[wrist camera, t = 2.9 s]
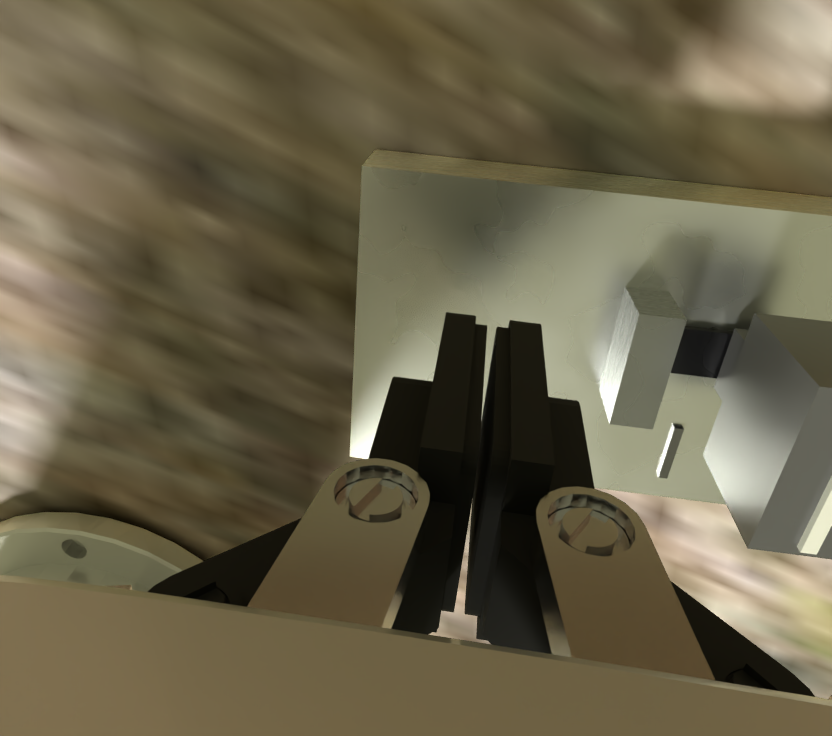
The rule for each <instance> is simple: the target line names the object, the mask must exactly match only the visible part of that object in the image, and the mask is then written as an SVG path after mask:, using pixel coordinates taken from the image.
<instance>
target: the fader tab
mask: <svg viewBox="0 0 832 736" xmlns="http://www.w3.org/2000/svg"><path fill="white" fill-rule="evenodd" d="M714 389H715V390H716V392H717V394H718V395H719V397H720V399H721V400H722V404H721V406H720V409H719V412H718V414H717V417H716V420H715V423H714V425H713V428H712V431H711V434H710V436H709V439H708V442H707V445H706V447H705V450H704V453H703V457H704V459H705V461H706V463H707V465H708V467H709V469H710V471H711V473H712V476H713V478H714V480H715V482H716V484H717V486H718V488H719V490H720V492H721V494H722V496H723V498H724V500H725V503H726V505H727V507H728V509H729V511H730V513H731V515H732V517H733V519H734V521H735V523H736V525H737V527H738V530H739V532H740V534H741V536H742V538H743V540H744V542H745V544H746V546H747V548H749V549H757V550H764V551H772V552H780V553H787V554H795V555H803V556H810V557H818V558H826V559H832V322H830V321H822V320H813V319H804V318H795V317H786V316H778V315H769V314H760V313H754V316H753V319H752V321H751V324H750V327H749V330H746V329H738V328H735V329H734V332H733V335H732V337H731V340H730V343H729V346H728V349H727V352H726V354H725V357H724V360H723V363H722V366H721V368H720V371H719V374H718V377H717V380H716V383H715V385H714Z"/></svg>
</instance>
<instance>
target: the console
mask: <svg viewBox="0 0 832 736" xmlns="http://www.w3.org/2000/svg"><path fill="white" fill-rule="evenodd" d="M446 312H450V313H458V314H466V315H474V316H476V324H481V325H487V339H486V355H485V371H484V387H483V403H482V414H483V408H484V402H485V395H486V389H487V383H488V377H489V370H490V364H491V358H492V352H493V345H494V339H495V333H496V328H497V327H504V328H508V325H509V321H510V320H514V321H521V322H529V323H537V324H541V327H542V337H543V347H544V357H545V368H546V378H547V388H548V397H554V398H561V399H569V400H577V401H578V402H579V403H580V407H581V413H582V418H583V424H584V430H585V436H586V442H587V448H588V453H589V459H590V465H591V471H592V477H593V483H594V488H600V489H608V490H616V491H624V492H631V493H639V494H647V495H655V496H663V497H671V498H679V499H686V500H694V501H702V502H710V503H718V504H726V503H725V500H724V498H723V496H722V494H721V492H720V490H719V488H718V486H717V484H716V482H715V480H714V478H713V476H712V473H711V471H710V469H709V467H708V465H707V463H706V461H705V459H704V457H703V453H704V450H705V447H706V445H707V442H708V439H709V436H710V434H711V431H712V428H713V425H714V423H715V420H716V417H717V414H718V412H719V409H720V406H721V404H722V400H721V399H720V397H719V395H718V394H717V392H716V390H715V389H714V385H715V383H716V380H717V377H718V374H719V371H720V368H721V366H722V363H723V360H724V357H725V354H726V352H727V349H728V346H729V343H730V340H731V337H732V335H733V332H734V329H735V328H738V329H746V330H749V327H750V324H751V321H752V319H753V316H754V313H760V314H769V315H778V316H786V317H795V318H804V319H813V320H822V321H830V322H832V197H824V196H815V195H805V194H796V193H786V192H777V191H767V190H758V189H748V188H739V187H729V186H720V185H710V184H701V183H691V182H682V181H672V180H663V179H653V178H644V177H634V176H625V175H616V174H606V173H597V172H587V171H578V170H568V169H559V168H549V167H540V166H530V165H521V164H511V163H502V162H492V161H483V160H473V159H464V158H454V157H445V156H435V155H426V154H416V153H407V152H397V151H388V150H378V149H375V150H374V152H373V153H372V154H371V155H370V156H369V158H368V159H367V160H366V161H365V163H364V164H363V165H362V173H361V197H360V221H359V245H358V269H357V293H356V317H355V341H354V365H353V389H352V413H351V437H350V457H356V458H364V459H368V457H369V454H370V451H371V447H372V444H373V441H374V437H375V434H376V431H377V427H378V424H379V420H380V417H381V414H382V410H383V407H384V404H385V400H386V397H387V394H388V390H389V387H390V384H391V380H392V378H393V377H394V376H395V377H403V378H411V379H418V380H426V381H433V378H434V372H435V367H436V362H437V357H438V352H439V346H440V341H441V336H442V331H443V326H444V320H445V315H446ZM481 421H482V419H481Z"/></svg>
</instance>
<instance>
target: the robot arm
mask: <svg viewBox="0 0 832 736" xmlns="http://www.w3.org/2000/svg"><path fill="white" fill-rule="evenodd" d="M486 339H487V325H481V324H476V316H474V315H466V314H458V313H450V312H446V315H445V320H444V326H443V331H442V336H441V341H440V346H439V352H438V357H437V362H436V367H435V372H434V378H433V381H426V380H418V379H411V378H403V377H395V376H394V377H393V378H392V380H391V384H390V387H389V390H388V394H387V397H386V400H385V404H384V407H383V410H382V414H381V417H380V420H379V424H378V427H377V431H376V434H375V437H374V441H373V444H372V447H371V451H370V454H369V457H368V459H360V460H356V461H353V462H349V463H346V464H344V465H343V466H341V467H339V468H337V469H336V470H334V471H333V472H332V473H331V474H330V475H329V477H328V478H327V479H326V480H325V482H324V483H323V485H322V486H321V488H320V490H319V491H318V493H317V495H316V496H315V498H314V499H313V501H312V503H311V504H310V506H309V507H308V509H307V511H306V512H305V514H304V515H303V517H302V518H301V519H298V520H296V521H294V522H292V523H289V524H287V525H285V526H283V527H280V528H278V529H276V530H274V531H271V532H269V533H267V534H264V535H262V536H260V537H258V538H255V539H253V540H251V541H249V542H246V543H244V544H242V545H240V546H237V547H235V548H233V549H230V550H228V551H226V552H224V553H221V554H219V555H217V556H215V557H212V558H210V559H208V560H206V561H203V560H201V559H200V558H198V557H196V556H195V555H193V554H192V553H190V552H188V551H187V550H185V549H184V548H182V547H181V546H179V545H177V544H176V543H174V542H172V541H170V540H167V539H165V538H163V537H161V536H159V535H157V534H154V533H152V532H150V531H148V530H146V529H143V528H140V527H137V526H134V525H130V524H127V523H124V522H121V521H118V520H114V519H111V518H105V517H99V516H93V515H88V514H82V513H68V512H41V513H35V514H28V515H21V516H15V517H13V518H10V519H7V520H4V521H2V522H0V736H832V695H831V696H830V697H829V699H823V698H818V697H815V696H814V695H813V693H812V692H811V691H810V689H809V688H808V687H807V686H806V685H805V684H803V683H802V682H801V681H800V680H799V679H798V678H797V677H796V676H795V675H794V674H792V673H791V672H790V671H789V670H787V669H786V668H785V667H783V666H782V665H781V664H780V663H778V662H777V661H776V660H774V659H773V658H772V657H770V656H769V655H768V654H766V653H765V652H764V651H762V650H761V649H760V648H758V647H757V646H756V645H754V644H753V643H752V642H750V641H749V640H748V639H747V638H745V637H744V636H743V635H741V634H740V633H739V632H737V631H736V630H735V629H733V628H732V627H731V626H729V625H728V624H727V623H725V622H724V621H723V620H721V619H720V618H719V617H717V616H716V615H715V614H714V613H712V612H711V611H710V610H708V609H707V608H706V607H704V606H703V605H702V604H700V603H699V602H698V601H696V600H695V599H694V598H692V597H691V596H690V595H688V594H687V593H686V592H684V591H683V590H682V589H681V588H679V587H678V586H677V585H675V584H674V583H673V582H671V581H670V579H669V577H668V575H667V573H666V571H665V568H664V566H663V564H662V562H661V560H660V558H659V555H658V553H657V551H656V549H655V547H654V544H653V542H652V540H651V538H650V536H649V533H648V531H647V529H646V527H645V525H644V523H643V522H642V520H641V519H640V517H639V516H638V514H637V513H636V512H635V511H634V510H632V509H631V508H630V507H629V506H628V505H627V504H626V503H624V502H623V501H621V500H619V499H617V498H616V497H614V496H612V495H610V494H608V493H605V492H602V491H599V490H596V489H595V488H594V483H593V477H592V471H591V465H590V459H589V453H588V448H587V442H586V436H585V430H584V424H583V418H582V413H581V407H580V403H579V402H578V401H577V400H569V399H561V398H554V397H548V388H547V378H546V368H545V357H544V347H543V337H542V327H541V324H537V323H529V322H521V321H514V320H510V321H509V325H508V328H504V327H497V328H496V333H495V339H494V345H493V352H492V358H491V364H490V370H489V377H488V383H487V389H486V395H485V402H484V408H483V414H482V403H483V387H484V371H485V355H486ZM481 419H482V421H481ZM472 497H473V500H472ZM471 504H472V514H471V528H470V542H469V556H468V571H467V585H466V599H465V614H468V615H475V616H478V617H477V637H476V639H481V640H488V641H489V642H490V643H491V644H492V645H491V644H484V643H478V642H471V641H465V640H459V639H452V638H446V637H440V636H433V635H428V634H430V633H431V632H437V629H438V628H439V621H440V614H441V610H442V611H449V612H454V608H455V602H456V595H457V589H458V583H459V577H460V571H461V565H462V559H463V553H464V546H465V540H466V534H467V528H468V522H469V516H470V510H471Z"/></svg>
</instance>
